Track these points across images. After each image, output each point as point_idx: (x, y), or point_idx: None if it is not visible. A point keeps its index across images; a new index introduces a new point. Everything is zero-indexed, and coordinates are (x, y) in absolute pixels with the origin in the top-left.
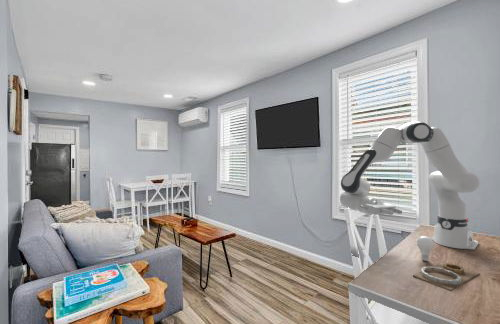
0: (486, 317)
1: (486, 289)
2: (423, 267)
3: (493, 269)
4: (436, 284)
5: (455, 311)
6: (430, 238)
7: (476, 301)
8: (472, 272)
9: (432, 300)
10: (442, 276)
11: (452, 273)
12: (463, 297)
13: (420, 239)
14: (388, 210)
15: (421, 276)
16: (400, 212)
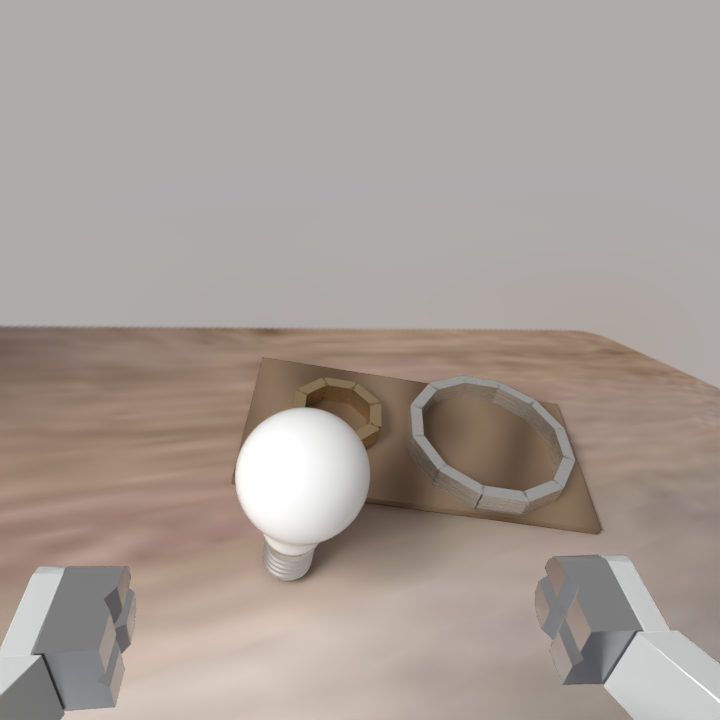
0: (605, 341)
1: (410, 344)
2: (503, 497)
3: (125, 331)
4: (569, 443)
5: (667, 385)
6: (300, 408)
7: (540, 357)
8: (279, 372)
9: (689, 433)
10: (464, 441)
11: (426, 404)
12: (556, 380)
13: (359, 468)
14: (658, 625)
15: (569, 499)
16: (123, 593)
